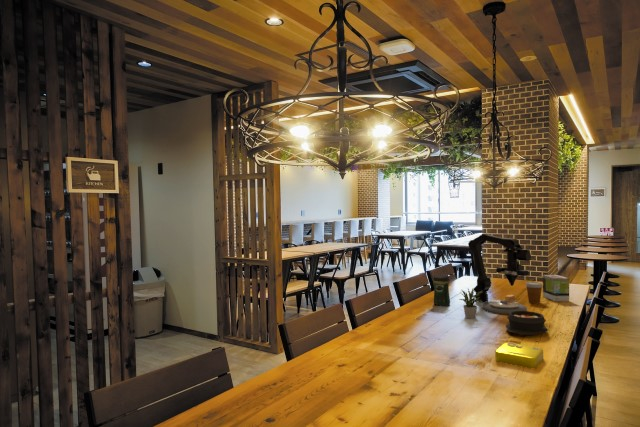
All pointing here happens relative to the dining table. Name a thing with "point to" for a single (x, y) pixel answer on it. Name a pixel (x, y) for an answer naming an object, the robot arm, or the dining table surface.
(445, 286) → the coffee jar
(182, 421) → the dining table surface
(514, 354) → the element tile
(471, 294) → the house plant
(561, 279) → the tea box
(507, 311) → the base plate
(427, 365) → the dining table surface
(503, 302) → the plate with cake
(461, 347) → the dining table surface
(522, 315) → the casserole
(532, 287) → the disposable coffee cup
